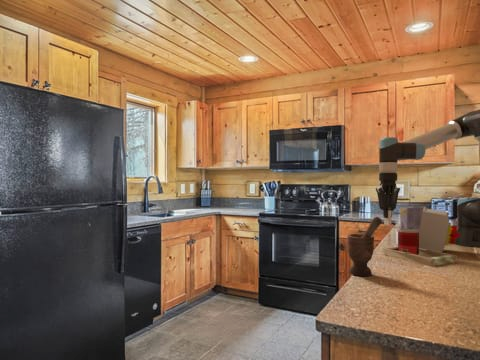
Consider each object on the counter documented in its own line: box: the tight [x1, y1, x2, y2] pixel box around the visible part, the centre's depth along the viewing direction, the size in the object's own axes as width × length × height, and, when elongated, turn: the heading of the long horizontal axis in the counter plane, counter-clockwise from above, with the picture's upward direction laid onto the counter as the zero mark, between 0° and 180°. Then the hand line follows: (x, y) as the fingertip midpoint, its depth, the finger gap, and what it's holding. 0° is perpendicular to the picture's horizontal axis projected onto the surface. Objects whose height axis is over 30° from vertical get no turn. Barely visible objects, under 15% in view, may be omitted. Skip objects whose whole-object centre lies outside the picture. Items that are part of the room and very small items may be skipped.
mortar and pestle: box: [347, 216, 383, 277], centre depth 118 cm, size 12×9×20 cm
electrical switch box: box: [419, 206, 459, 253], centre depth 155 cm, size 15×15×20 cm
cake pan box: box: [399, 206, 428, 230], centre depth 187 cm, size 19×5×18 cm, turn 122°
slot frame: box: [382, 246, 458, 267], centre depth 142 cm, size 15×22×3 cm
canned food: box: [397, 228, 420, 256], centre depth 146 cm, size 8×8×11 cm
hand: (387, 225), depth 156 cm, fingers closed
